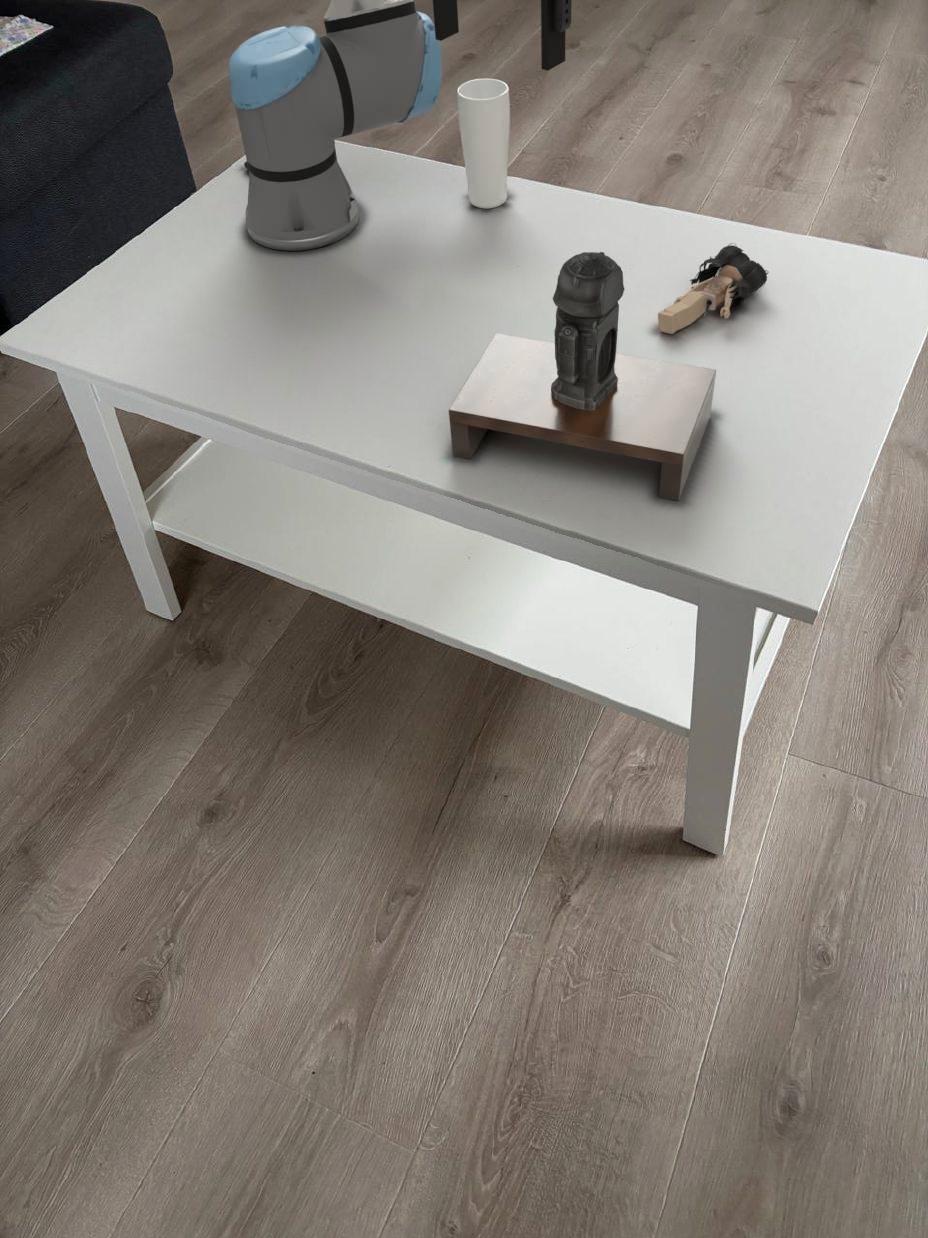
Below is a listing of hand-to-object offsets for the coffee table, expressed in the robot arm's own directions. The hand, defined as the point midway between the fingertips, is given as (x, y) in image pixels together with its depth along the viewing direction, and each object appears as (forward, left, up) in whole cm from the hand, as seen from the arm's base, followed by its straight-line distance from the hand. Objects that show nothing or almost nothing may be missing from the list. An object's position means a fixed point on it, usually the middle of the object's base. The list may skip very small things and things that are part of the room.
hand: (498, 50), depth 107 cm
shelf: (+20, -12, -31) cm, 39 cm away
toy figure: (+18, +16, -31) cm, 39 cm away
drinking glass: (-21, +21, -31) cm, 43 cm away
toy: (+20, -12, -25) cm, 34 cm away
